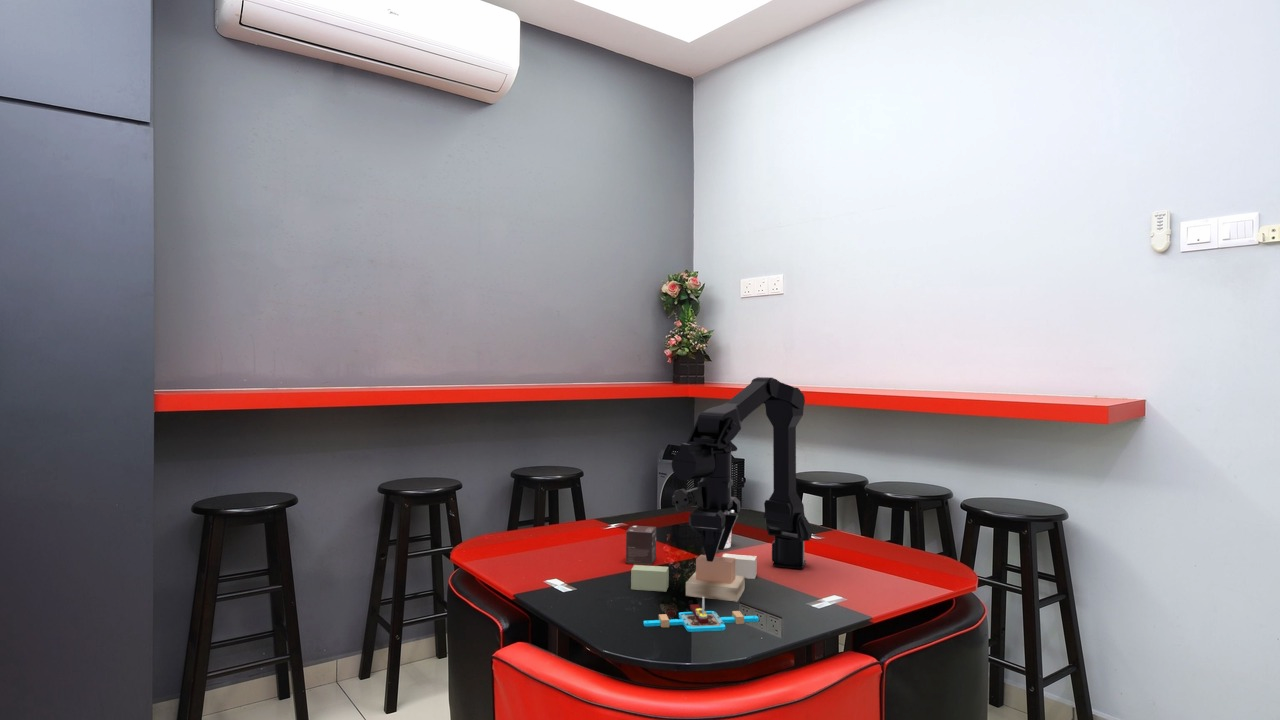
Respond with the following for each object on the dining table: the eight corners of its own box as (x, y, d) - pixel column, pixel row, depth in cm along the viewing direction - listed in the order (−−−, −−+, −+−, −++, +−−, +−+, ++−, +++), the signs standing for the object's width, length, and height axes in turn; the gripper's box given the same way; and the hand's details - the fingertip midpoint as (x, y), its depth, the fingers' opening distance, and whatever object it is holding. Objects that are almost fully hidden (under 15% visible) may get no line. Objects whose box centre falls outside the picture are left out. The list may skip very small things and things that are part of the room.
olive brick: (668, 586, 141) (668, 566, 141) (666, 592, 138) (666, 571, 138) (634, 584, 142) (634, 565, 142) (631, 590, 139) (631, 569, 139)
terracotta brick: (735, 578, 138) (735, 558, 138) (730, 583, 135) (731, 562, 135) (700, 574, 141) (701, 554, 141) (695, 579, 137) (696, 558, 137)
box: (651, 565, 156) (652, 532, 156) (625, 563, 157) (625, 530, 157) (656, 558, 162) (656, 526, 162) (631, 556, 163) (631, 525, 163)
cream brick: (756, 575, 150) (756, 556, 150) (754, 579, 147) (754, 560, 147) (723, 572, 152) (724, 553, 152) (721, 576, 148) (721, 557, 149)
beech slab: (744, 591, 140) (744, 576, 140) (737, 604, 132) (737, 588, 132) (695, 586, 143) (695, 571, 143) (685, 598, 135) (685, 582, 135)
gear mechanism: (639, 617, 125) (647, 637, 116) (639, 586, 125) (647, 604, 116) (748, 612, 128) (764, 631, 118) (748, 582, 128) (765, 599, 118)
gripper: (689, 467, 149) (688, 541, 149) (662, 479, 132) (661, 563, 131) (741, 470, 146) (740, 545, 145) (721, 483, 128) (720, 569, 128)
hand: (715, 555), depth 138 cm, fingers open, 9 cm apart
